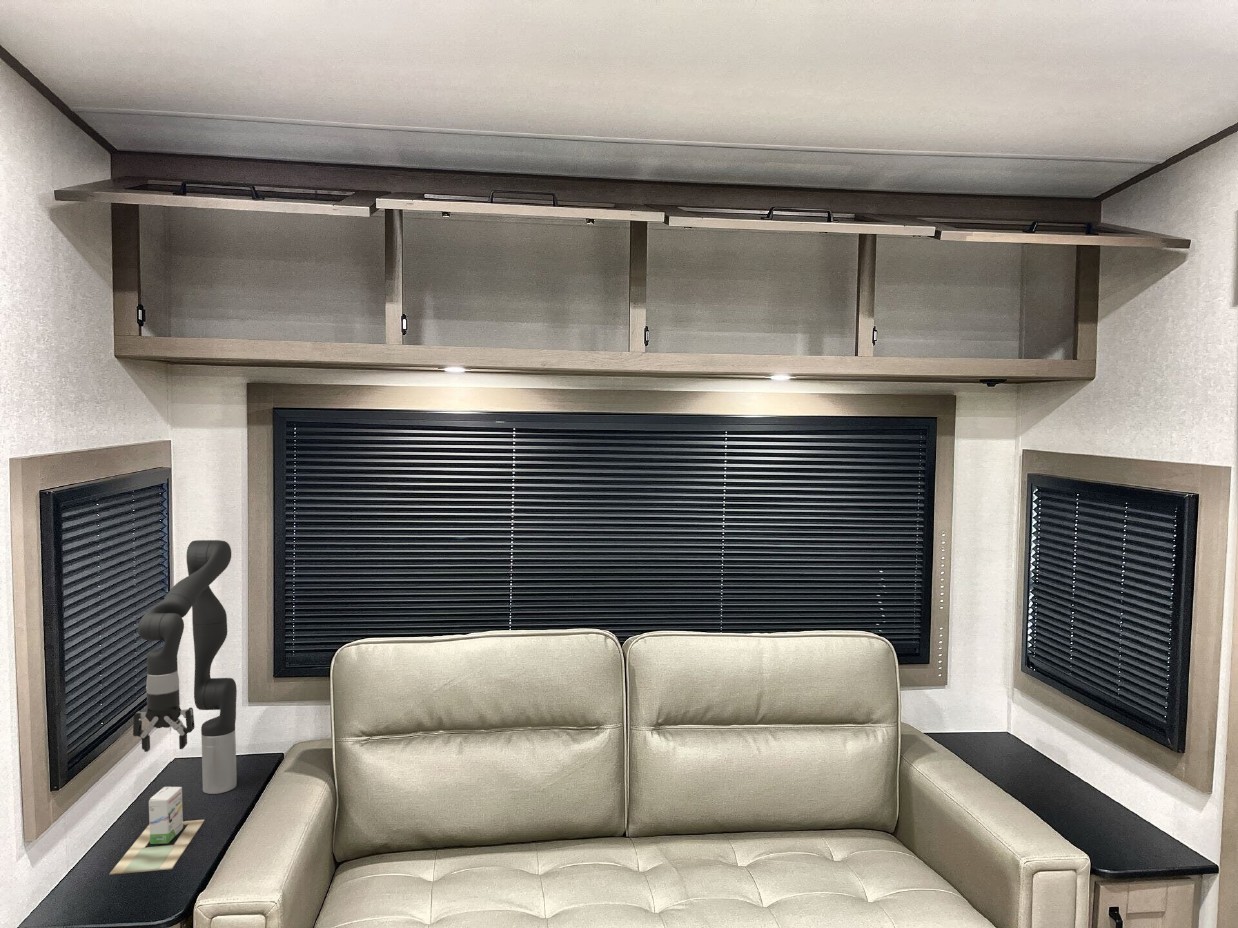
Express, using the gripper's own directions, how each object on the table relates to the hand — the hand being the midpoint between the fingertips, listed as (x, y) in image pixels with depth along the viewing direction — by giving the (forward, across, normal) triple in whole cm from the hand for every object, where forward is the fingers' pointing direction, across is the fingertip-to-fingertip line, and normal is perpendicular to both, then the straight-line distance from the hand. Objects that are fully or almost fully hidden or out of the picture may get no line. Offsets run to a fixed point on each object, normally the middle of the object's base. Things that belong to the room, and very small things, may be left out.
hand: (164, 749), depth 221 cm
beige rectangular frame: (+23, 0, +6) cm, 24 cm away
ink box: (+24, 0, 0) cm, 24 cm away
